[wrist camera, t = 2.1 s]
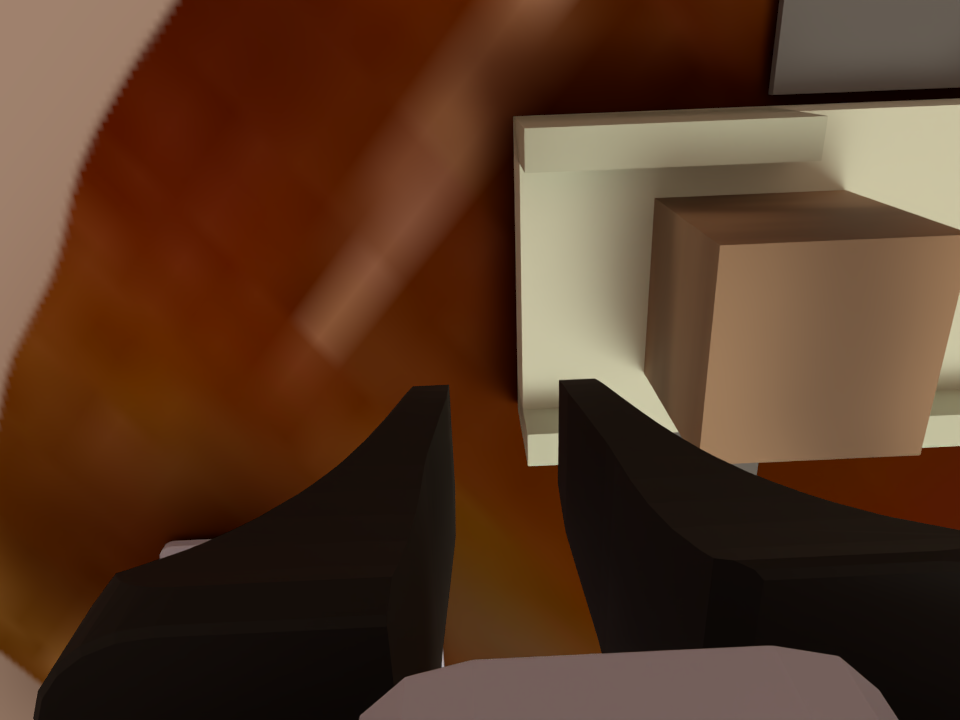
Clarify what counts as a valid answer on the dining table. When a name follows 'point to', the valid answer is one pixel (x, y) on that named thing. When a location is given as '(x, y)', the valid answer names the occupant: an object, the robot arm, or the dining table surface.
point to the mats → (864, 50)
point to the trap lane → (684, 173)
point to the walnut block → (798, 323)
